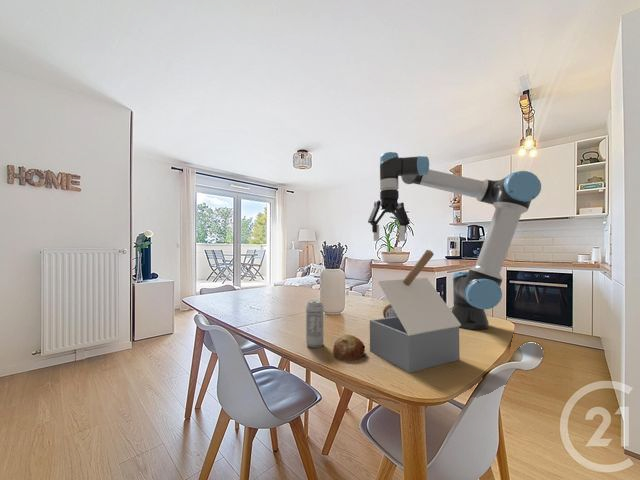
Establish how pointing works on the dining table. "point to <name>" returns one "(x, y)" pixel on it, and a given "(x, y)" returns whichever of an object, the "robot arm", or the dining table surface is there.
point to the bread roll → (348, 347)
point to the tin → (389, 312)
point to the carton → (413, 345)
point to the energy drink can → (314, 323)
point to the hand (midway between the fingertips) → (389, 240)
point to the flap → (418, 302)
